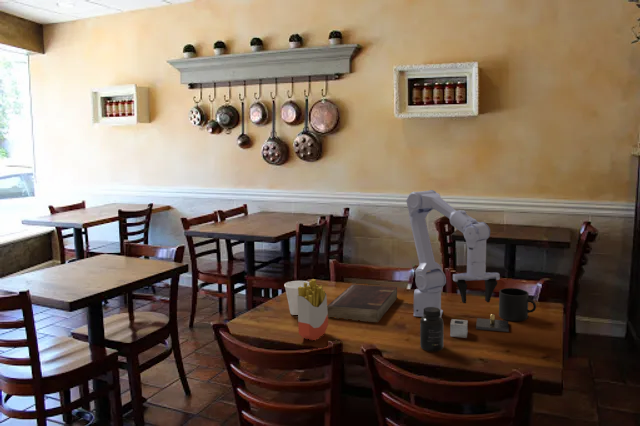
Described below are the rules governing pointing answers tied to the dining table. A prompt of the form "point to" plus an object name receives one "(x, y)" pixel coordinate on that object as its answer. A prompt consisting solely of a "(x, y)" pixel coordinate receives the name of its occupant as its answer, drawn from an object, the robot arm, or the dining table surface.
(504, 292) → the mug
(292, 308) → the cup
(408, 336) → the dining table surface
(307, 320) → the french fries container
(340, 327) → the dining table surface
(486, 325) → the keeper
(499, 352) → the dining table surface
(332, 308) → the hardback book
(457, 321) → the gray square hollow block
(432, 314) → the supplement bottle
